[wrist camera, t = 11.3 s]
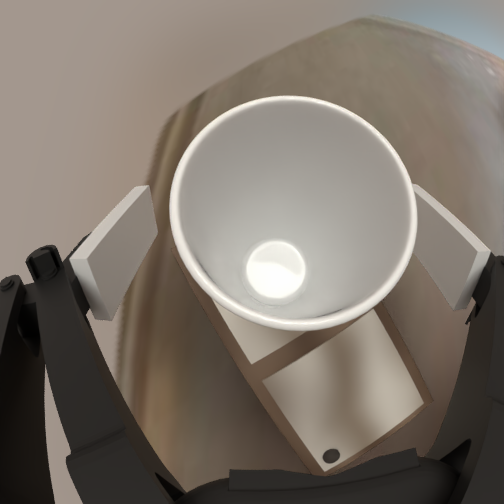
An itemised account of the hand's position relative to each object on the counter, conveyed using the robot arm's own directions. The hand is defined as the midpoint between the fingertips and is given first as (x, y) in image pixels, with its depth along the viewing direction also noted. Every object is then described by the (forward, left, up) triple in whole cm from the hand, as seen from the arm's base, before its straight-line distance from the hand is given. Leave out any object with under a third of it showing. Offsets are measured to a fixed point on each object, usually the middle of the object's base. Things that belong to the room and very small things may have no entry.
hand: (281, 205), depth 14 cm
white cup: (+1, +2, -8) cm, 9 cm away
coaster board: (+1, +8, -9) cm, 12 cm away
